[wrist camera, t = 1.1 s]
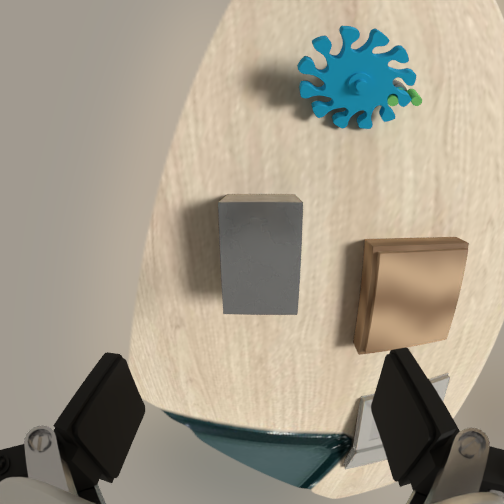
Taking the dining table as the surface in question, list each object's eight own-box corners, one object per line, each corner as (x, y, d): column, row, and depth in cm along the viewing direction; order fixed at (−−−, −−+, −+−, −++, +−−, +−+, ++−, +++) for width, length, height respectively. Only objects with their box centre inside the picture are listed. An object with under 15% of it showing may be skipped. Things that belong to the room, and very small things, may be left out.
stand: (364, 239, 25) (375, 248, 22) (456, 237, 24) (471, 244, 22) (353, 341, 29) (360, 358, 26) (437, 329, 28) (448, 341, 25)
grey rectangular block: (228, 194, 25) (218, 202, 19) (294, 194, 24) (303, 202, 19) (231, 285, 27) (223, 313, 22) (291, 286, 27) (297, 314, 22)
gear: (284, 118, 21) (319, 11, 12) (281, 86, 23) (307, -2, 15) (395, 148, 22) (447, 70, 13) (378, 113, 25) (417, 42, 16)
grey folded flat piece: (410, 446, 38) (415, 459, 34) (342, 464, 39) (344, 478, 36) (446, 369, 31) (456, 384, 28) (359, 393, 32) (366, 412, 29)
